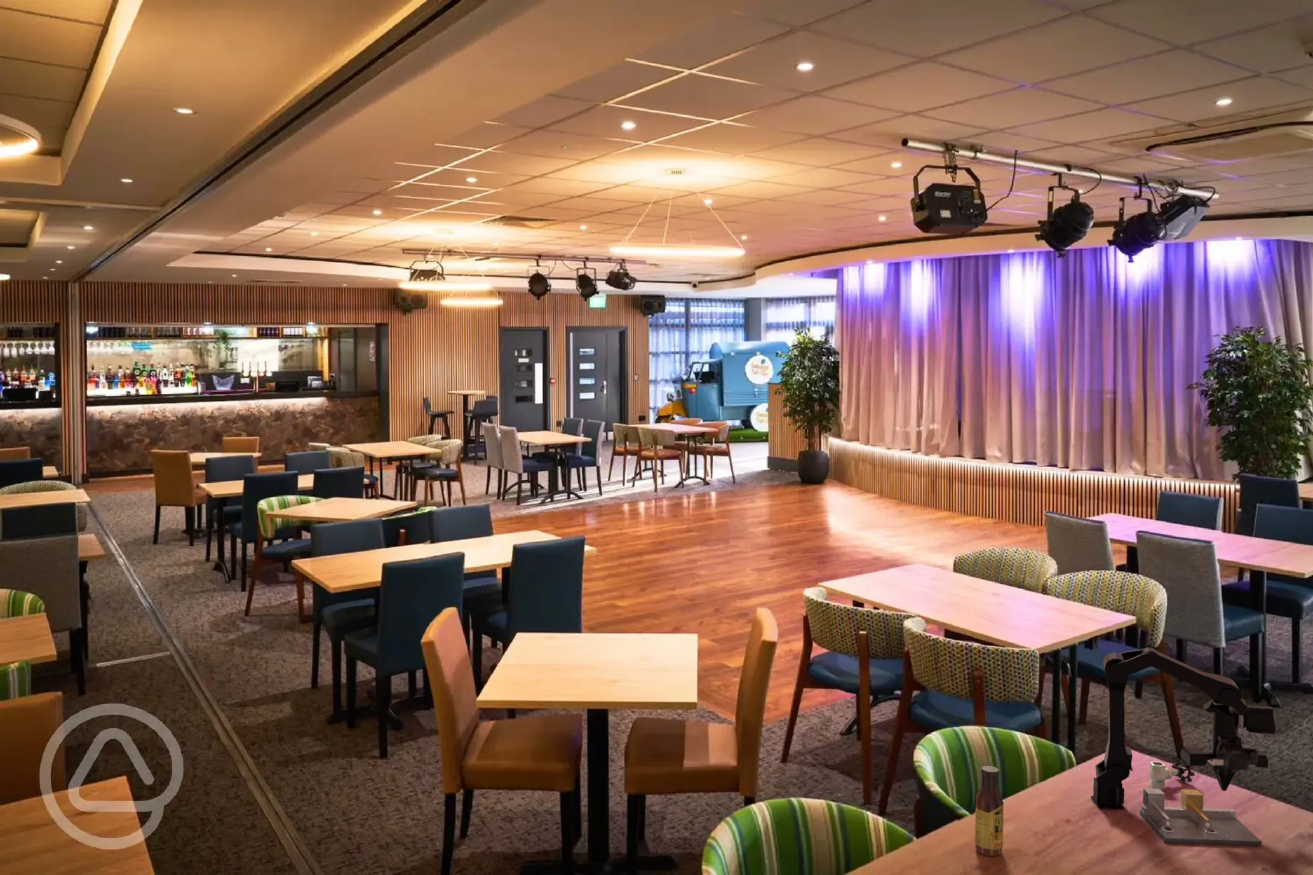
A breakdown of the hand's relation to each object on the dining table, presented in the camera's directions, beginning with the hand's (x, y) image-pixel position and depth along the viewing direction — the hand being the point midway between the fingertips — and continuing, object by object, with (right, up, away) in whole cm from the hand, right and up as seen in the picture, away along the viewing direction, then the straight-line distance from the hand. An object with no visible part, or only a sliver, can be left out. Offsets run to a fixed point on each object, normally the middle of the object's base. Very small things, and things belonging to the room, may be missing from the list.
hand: (1223, 790), depth 242 cm
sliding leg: (-8, -7, -2) cm, 10 cm away
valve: (-2, -7, +22) cm, 23 cm away
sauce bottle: (-64, -10, -14) cm, 66 cm away
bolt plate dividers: (-9, -8, -4) cm, 13 cm away
